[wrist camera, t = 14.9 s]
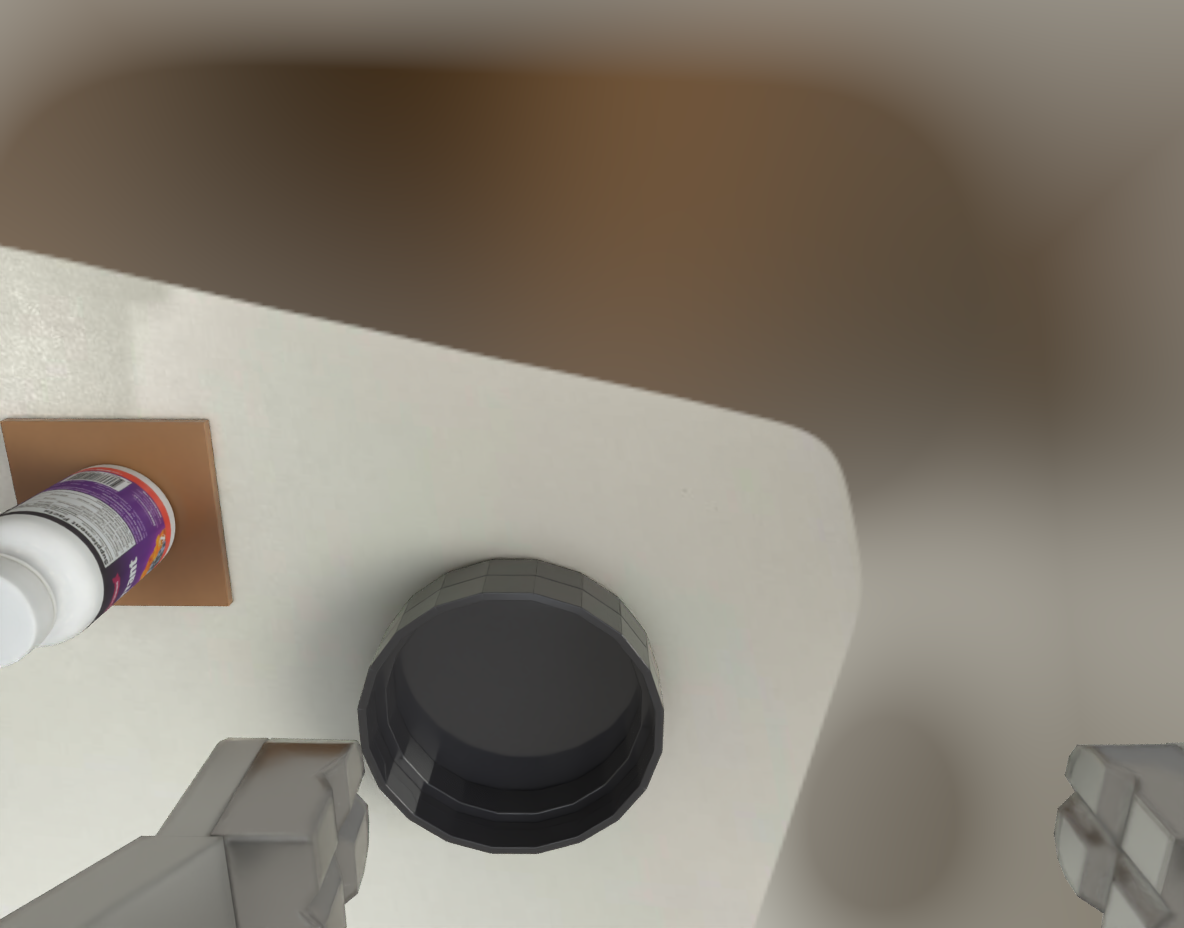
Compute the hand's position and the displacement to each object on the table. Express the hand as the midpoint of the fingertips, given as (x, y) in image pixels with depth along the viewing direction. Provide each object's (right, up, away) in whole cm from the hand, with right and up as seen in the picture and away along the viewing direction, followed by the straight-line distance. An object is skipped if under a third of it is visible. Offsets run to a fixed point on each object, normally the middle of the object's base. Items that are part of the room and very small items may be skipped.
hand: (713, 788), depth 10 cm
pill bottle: (-23, +1, +30) cm, 38 cm away
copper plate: (-23, +1, +30) cm, 38 cm away
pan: (-5, -7, +33) cm, 34 cm away
